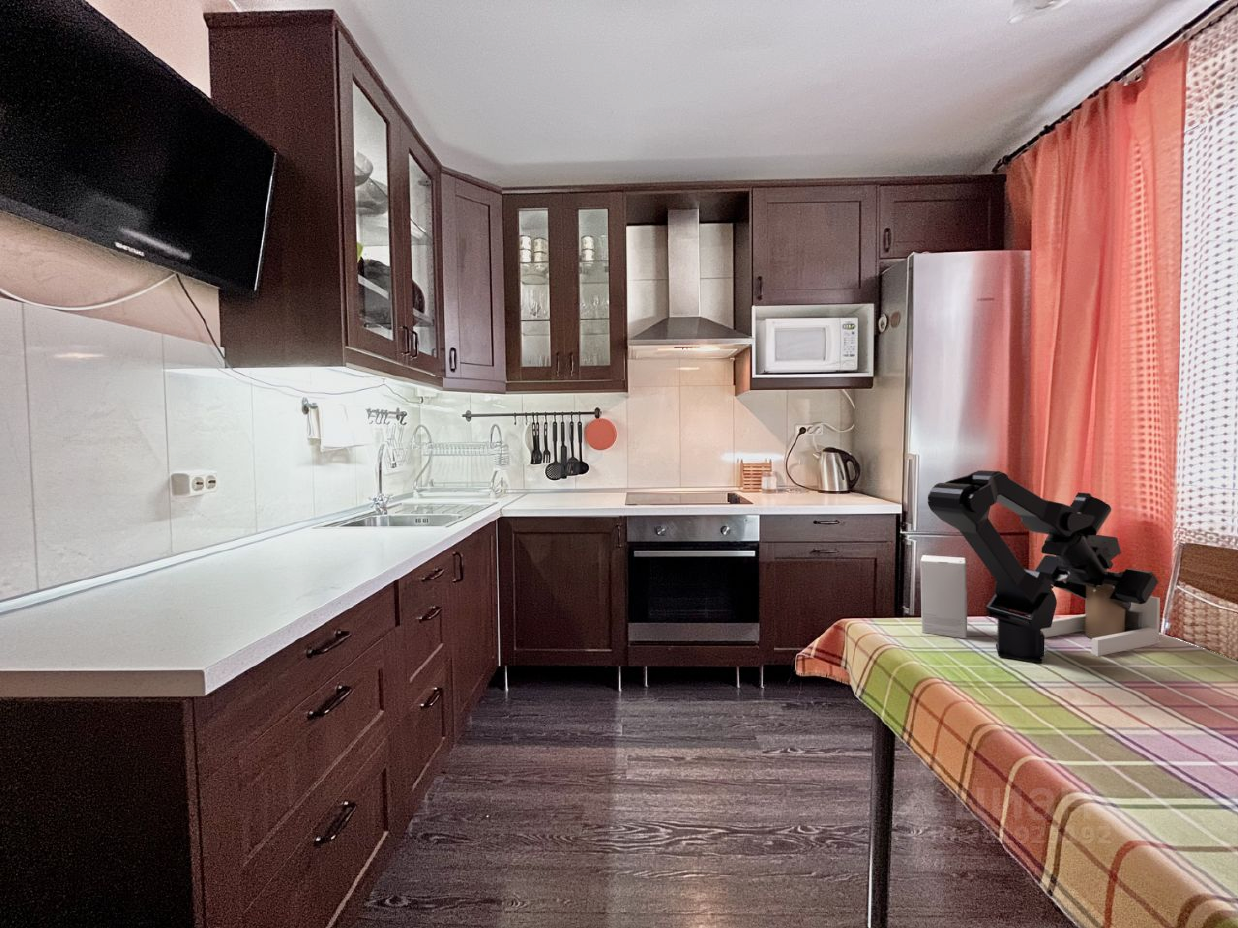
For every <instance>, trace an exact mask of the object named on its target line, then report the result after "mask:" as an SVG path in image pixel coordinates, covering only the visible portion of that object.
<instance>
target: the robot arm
mask: <svg viewBox="0 0 1238 928" xmlns="http://www.w3.org/2000/svg"><path fill="white" fill-rule="evenodd" d="M996 503H998V504H1000V505H1001V506H1003V507H1004V508H1006V509H1008V510H1010V511H1011V512H1014V513H1015V514H1017V516H1019V517H1020V523H1022V524H1023V526H1024V527H1026V528H1027V529H1028V530H1029V531H1030V532H1032V533H1034V534H1035V533H1036V534H1043V535H1047V536H1046V537H1045V540H1044V543H1043V544H1042V547H1041V550H1040V552H1041V554H1043V555H1044V556H1043V557H1042V558H1041V560H1040V561H1039V563H1038V564H1037V566H1036V567H1035V569H1034V570H1033V569H1027V568H1024V566H1022V564H1021V563H1020V562H1019V561H1020V560H1019V559H1018V558H1017V557H1016V556H1015V555H1014V553H1013V551H1012V550H1011V548H1009V546H1008V545H1007V543H1006V542H1005V540H1004V539H1003V537H1002V536H1001V535H1000V533H999V531H997V529H996V528H995V526H994V525H993V523H992V522H991V520H990V518H989V515H990V509H991V506H993V505H995V504H996ZM927 504H928V508H929V509H930V511H931V512H932V513H933V514H935V515H936V516H937V517H938V518H939V519H940V520H941V521H942V522H943V523H944V522H945V523H946V524H947V525H950V526H951V527H953V528H955V529H956V530H958V531H959V532H960V533H961V534H962V536H963V537H964V539H965V540H966V541H967V543H968V545H969V546H970V547H971V549H973V552H975V554H976V555H977V557H978V558H979V559H980V561H981V563H983V565H984V566H985V568H986V569H987V570H988V571H989V573H990V574H991V576H992V577H993V579H994V580H995V581H996V582H995V584H994V589H993V591H994V595H993V596H992V598H991V599H990V601H989V602H988V604H987V605H986V607H985V609H986V612H987V616H988V617H989V618H991V619H993V618H994V619H996V620H997V629H996V630H997V637H996V638H997V639H996V641H997V642H996V644H995V648H996V651H997V656H998V657H1000V658H1005V659H1013V660H1018V661H1026V662H1030V663H1031V662H1032V663H1038V664H1039V663H1040V664H1042V663H1043V658H1044V657H1045V639H1046V638H1045V636H1044V634H1043V632H1042V631H1041V629H1045V628H1050V627H1051V625H1052V621H1053V619H1054V616H1055V613H1056V609H1057V604H1058V601H1057V598H1056V594H1055V592H1054V590H1053V588H1056V589H1061V590H1062V591H1064V592H1067V593H1069V594H1072V595H1074V596H1076V597H1079V598H1080V599H1083V600H1085V601H1086V586H1091V587H1096V586H1102V584H1103V583H1105V584H1110V585H1112V586H1113V588H1115V589H1114V592H1113V593H1112V595H1111V596H1110V599H1111V600H1112V601H1114V602H1115V603H1117V604H1118V605H1119V606H1121V607H1122V608H1124V609H1125V610H1129V609H1130V607H1131V602H1132V603H1137V604H1144V603H1146V602H1147V600H1148V599H1149V597H1150V596H1152V594H1153V592H1154V590H1155V589H1156V587H1157V586H1158V584H1159V580H1158V579H1157V577H1156V575H1155V574H1154V573H1153V572H1152V571H1146V570H1140V569H1135V568H1126V569H1124V571H1120V572H1118V573H1113V572H1114V571H1113V572H1108V571H1109V570H1111V569H1112V568H1113V566H1114V563H1113V561H1112V560H1113V559H1115V558H1116V557H1117V556H1118V555H1119V556H1120V555H1121V554H1122V551H1121V547H1120V544H1119V543H1120V542H1119V538H1117V537H1116V536H1110V535H1108V536H1107V535H1101V534H1098V533H1099V531H1100V529H1101V528H1102V526H1103V524H1104V523H1105V521H1106V520H1107V519H1108V517H1109V515H1110V514H1111V512H1112V508H1111V505H1110V504H1108V503H1106V502H1105V501H1103V500H1101V499H1100V498H1097V497H1094V496H1092V494H1091V493H1089V492H1078V493H1077V494H1076V495H1075V497H1074V499H1073V500H1072V503H1071V504H1070V505H1067V504H1064V503H1063V502H1062V503H1061V502H1056V501H1051V500H1048V499H1045V498H1042V497H1040V496H1039V495H1037V494H1036V493H1034V492H1032V491H1031V490H1030V489H1028V488H1026V487H1025V486H1023V485H1021V484H1020V483H1018V482H1016V481H1015V480H1013V479H1011V478H1010V477H1009V476H1008V474H1006V473H1005V472H1002V471H1000V470H986V469H985V470H981V469H979V470H976V471H973V472H972V473H969V474H968V475H964V476H961V477H956V478H953V479H951V480H947V481H945V482H938V483H936V484H935V485H934V486H933V487H932V488H931V490H930V491H929V493H928V495H927ZM1108 569H1109V570H1108ZM1011 610H1012V611H1011ZM1029 615H1030V616H1029Z"/></svg>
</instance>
